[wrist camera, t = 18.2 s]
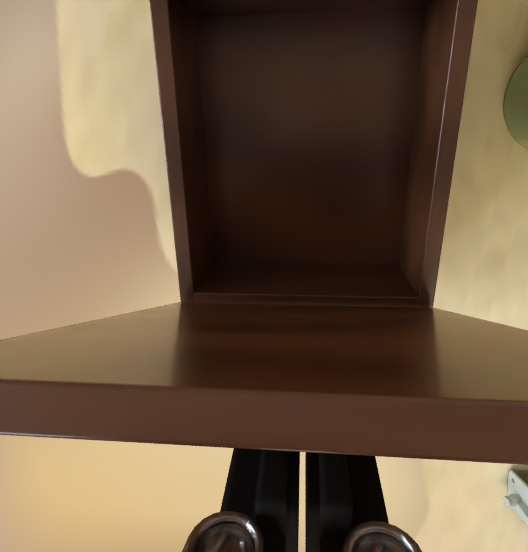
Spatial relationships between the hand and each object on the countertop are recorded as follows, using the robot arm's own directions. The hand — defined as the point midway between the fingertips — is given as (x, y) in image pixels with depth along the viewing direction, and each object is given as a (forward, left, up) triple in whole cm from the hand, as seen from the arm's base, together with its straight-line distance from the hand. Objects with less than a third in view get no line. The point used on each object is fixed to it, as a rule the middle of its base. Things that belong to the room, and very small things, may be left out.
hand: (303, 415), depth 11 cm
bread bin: (-5, 0, -17) cm, 18 cm away
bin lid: (-1, 0, -3) cm, 3 cm away
